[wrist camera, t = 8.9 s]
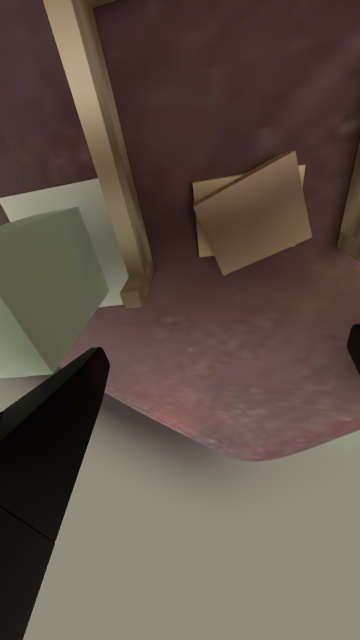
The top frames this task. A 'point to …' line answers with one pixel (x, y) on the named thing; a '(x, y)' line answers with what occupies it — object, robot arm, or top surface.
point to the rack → (110, 152)
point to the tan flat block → (255, 214)
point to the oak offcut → (208, 187)
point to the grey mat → (94, 218)
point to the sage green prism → (45, 290)
